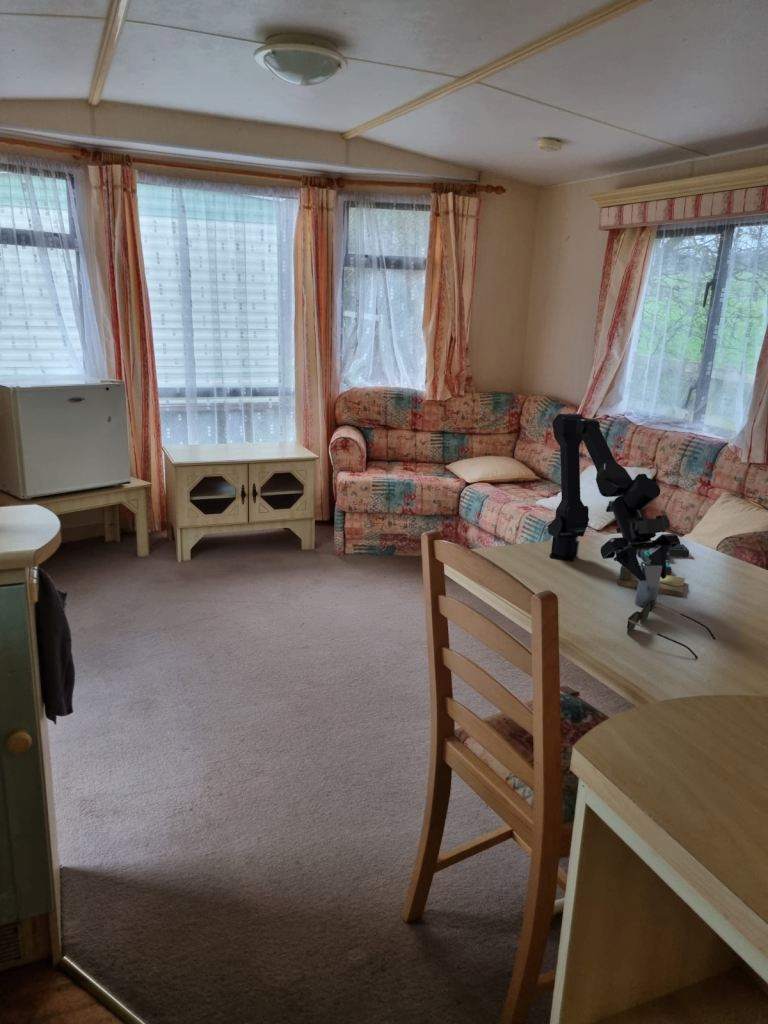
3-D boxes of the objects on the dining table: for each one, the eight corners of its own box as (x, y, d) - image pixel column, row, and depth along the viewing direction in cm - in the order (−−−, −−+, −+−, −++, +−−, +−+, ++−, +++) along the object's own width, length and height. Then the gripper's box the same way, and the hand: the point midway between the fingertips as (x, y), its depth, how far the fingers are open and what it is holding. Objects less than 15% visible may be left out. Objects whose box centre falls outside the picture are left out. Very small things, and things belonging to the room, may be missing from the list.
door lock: (617, 584, 178) (619, 568, 177) (623, 571, 187) (625, 555, 186) (681, 596, 172) (684, 579, 171) (684, 582, 182) (686, 566, 180)
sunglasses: (648, 618, 159) (653, 598, 158) (716, 644, 151) (722, 623, 149) (623, 638, 149) (628, 616, 147) (694, 667, 140) (701, 645, 138)
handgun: (680, 539, 209) (628, 534, 209) (713, 570, 184) (654, 564, 185) (678, 550, 210) (626, 545, 210) (710, 583, 185) (651, 577, 186)
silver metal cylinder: (633, 606, 165) (639, 565, 162) (636, 599, 169) (641, 559, 166) (654, 610, 163) (661, 569, 160) (656, 603, 167) (662, 563, 164)
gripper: (614, 504, 160) (639, 567, 153) (681, 500, 166) (708, 561, 159) (589, 527, 169) (612, 588, 162) (653, 523, 176) (678, 581, 169)
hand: (653, 579), depth 163 cm, fingers open, 6 cm apart
